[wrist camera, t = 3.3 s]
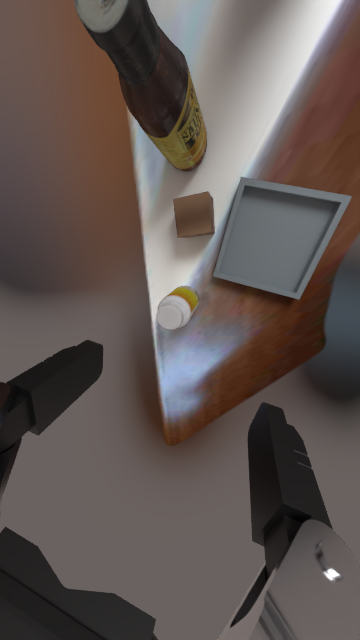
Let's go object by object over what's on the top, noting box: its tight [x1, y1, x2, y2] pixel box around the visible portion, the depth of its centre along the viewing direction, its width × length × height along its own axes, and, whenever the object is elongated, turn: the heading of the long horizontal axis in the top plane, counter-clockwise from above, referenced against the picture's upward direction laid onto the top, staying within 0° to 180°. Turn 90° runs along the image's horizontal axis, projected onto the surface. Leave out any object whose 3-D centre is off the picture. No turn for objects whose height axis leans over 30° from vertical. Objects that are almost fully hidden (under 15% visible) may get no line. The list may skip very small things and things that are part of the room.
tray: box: [213, 177, 352, 299], centre depth 29 cm, size 14×14×2 cm
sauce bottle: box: [74, 0, 207, 171], centre depth 19 cm, size 7×6×20 cm
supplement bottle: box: [157, 286, 199, 330], centre depth 33 cm, size 6×6×10 cm
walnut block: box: [173, 192, 215, 238], centre depth 29 cm, size 5×5×5 cm
